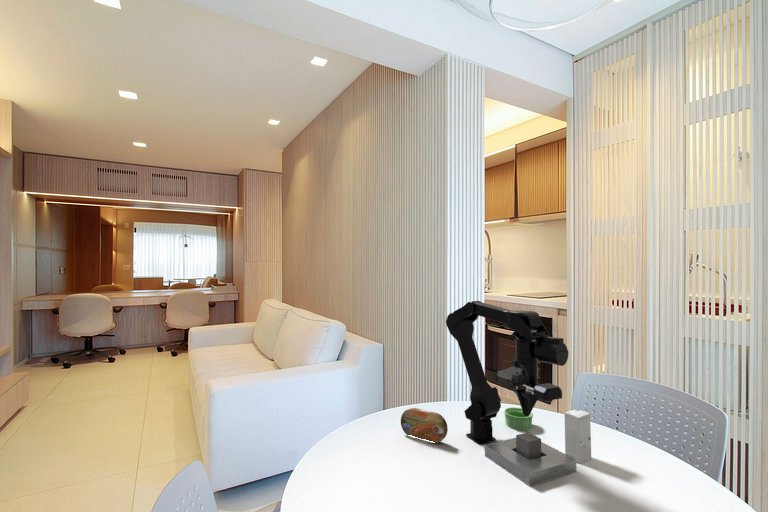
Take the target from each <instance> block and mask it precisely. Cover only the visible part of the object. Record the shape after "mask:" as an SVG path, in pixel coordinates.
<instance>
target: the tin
mask: <svg viewBox="0 0 768 512" xmlns="http://www.w3.org/2000/svg"><path fill="white" fill-rule="evenodd" d="M400 426H401V429H402V431H403V433H404V434H405V435H406V434H407V435H406V436H408V435H412V436H415V437H418V438H421V439H426V440H429V441H433V442H435V443H436V444H439V443H440V442H442V441H443V440H444V439H446V437H447V435H448V428H449V427H448V423H447V421H446V419H445V417H444V416H443V415H441V414H440V413H438V412H435V411H430V410H425V409H421V408H418V407H417V408H416V407H412V408H411V407H410V408H409V409H406V410H404V412H403V413H402V414H401V415H400Z"/></svg>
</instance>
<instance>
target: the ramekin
mask: <svg viewBox="0 0 768 512" xmlns="http://www.w3.org/2000/svg"><path fill="white" fill-rule="evenodd" d="M503 411H504V413H503V414H504V418H505V425H506V426H508V427H509V428H510V429H513V430H516V431H528V430H530V429H531V428H532V422H533V416H534V415H533V414H534V413H533V412H532V411H531V413H530V415H529V416H524V414H523V411H522V408H521V407H516V406H515V407H514V406H513V407H506V408H505V409H504V410H503Z"/></svg>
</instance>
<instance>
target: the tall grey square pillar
mask: <svg viewBox="0 0 768 512" xmlns="http://www.w3.org/2000/svg"><path fill="white" fill-rule="evenodd" d="M515 438H516V452H517V453H518V454H520V455H521V456H523V457H525V458H526V459H528V460H531V459H535V458H539V457H541V442H542V438H540V437H538V436H536V435H535V434H533V433H531V432H528V431H527V432H523V433H520V434H519V433H518V434H516V435H515Z"/></svg>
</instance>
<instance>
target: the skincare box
mask: <svg viewBox="0 0 768 512" xmlns="http://www.w3.org/2000/svg"><path fill="white" fill-rule="evenodd" d="M591 436H592V434H591V413H590V412H587V411H584V410H579V409H577V408H576V409H572V410H568V411H566V412H564V454H566V455H568V456H570V457H572V458H573V459H575V460H576V464H581V463H585V462H587V461H589V460H591V459H592V437H591Z"/></svg>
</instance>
